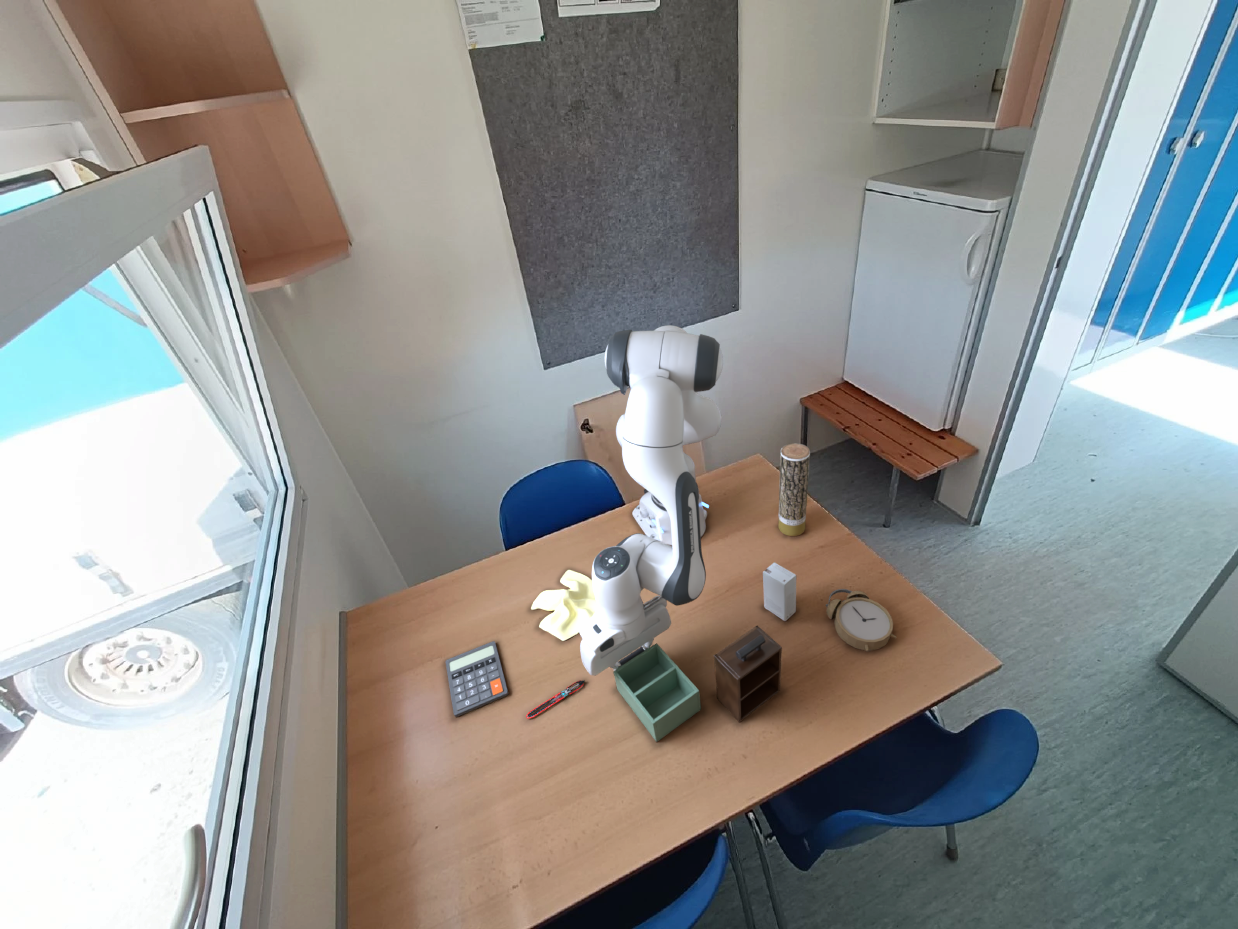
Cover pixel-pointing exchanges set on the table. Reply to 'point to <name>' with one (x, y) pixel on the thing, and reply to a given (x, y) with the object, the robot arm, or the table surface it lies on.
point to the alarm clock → (860, 620)
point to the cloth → (567, 605)
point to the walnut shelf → (748, 672)
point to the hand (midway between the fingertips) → (631, 660)
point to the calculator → (475, 678)
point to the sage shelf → (656, 690)
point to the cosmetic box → (779, 591)
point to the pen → (555, 699)
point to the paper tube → (793, 488)
